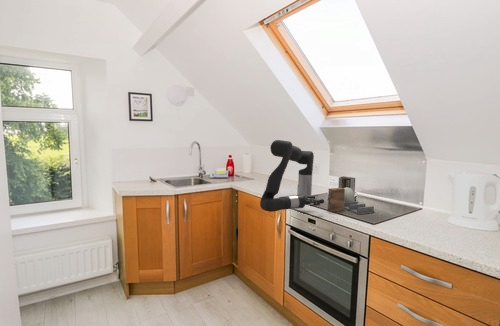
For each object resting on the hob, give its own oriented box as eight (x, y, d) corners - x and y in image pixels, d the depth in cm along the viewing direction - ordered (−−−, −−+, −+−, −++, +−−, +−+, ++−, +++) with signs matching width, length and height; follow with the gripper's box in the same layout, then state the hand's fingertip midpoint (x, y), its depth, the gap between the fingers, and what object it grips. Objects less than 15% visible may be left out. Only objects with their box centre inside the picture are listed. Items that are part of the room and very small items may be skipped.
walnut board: (327, 210, 169) (328, 188, 167) (339, 208, 172) (340, 187, 171) (331, 211, 165) (332, 189, 164) (343, 210, 169) (344, 188, 167)
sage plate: (338, 205, 176) (339, 187, 175) (352, 203, 180) (353, 186, 179) (339, 205, 175) (340, 188, 174) (353, 204, 179) (354, 187, 178)
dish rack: (334, 205, 179) (334, 200, 179) (348, 203, 184) (349, 198, 183) (358, 214, 160) (358, 208, 160) (374, 212, 165) (374, 206, 164)
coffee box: (354, 201, 191) (355, 177, 189) (349, 202, 186) (350, 178, 185) (342, 198, 197) (343, 176, 196) (337, 200, 193) (338, 176, 191)
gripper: (302, 198, 150) (327, 195, 156) (288, 192, 163) (312, 190, 169) (301, 211, 151) (326, 209, 157) (288, 205, 164) (311, 202, 170)
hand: (319, 199), depth 163 cm, fingers open, 8 cm apart
